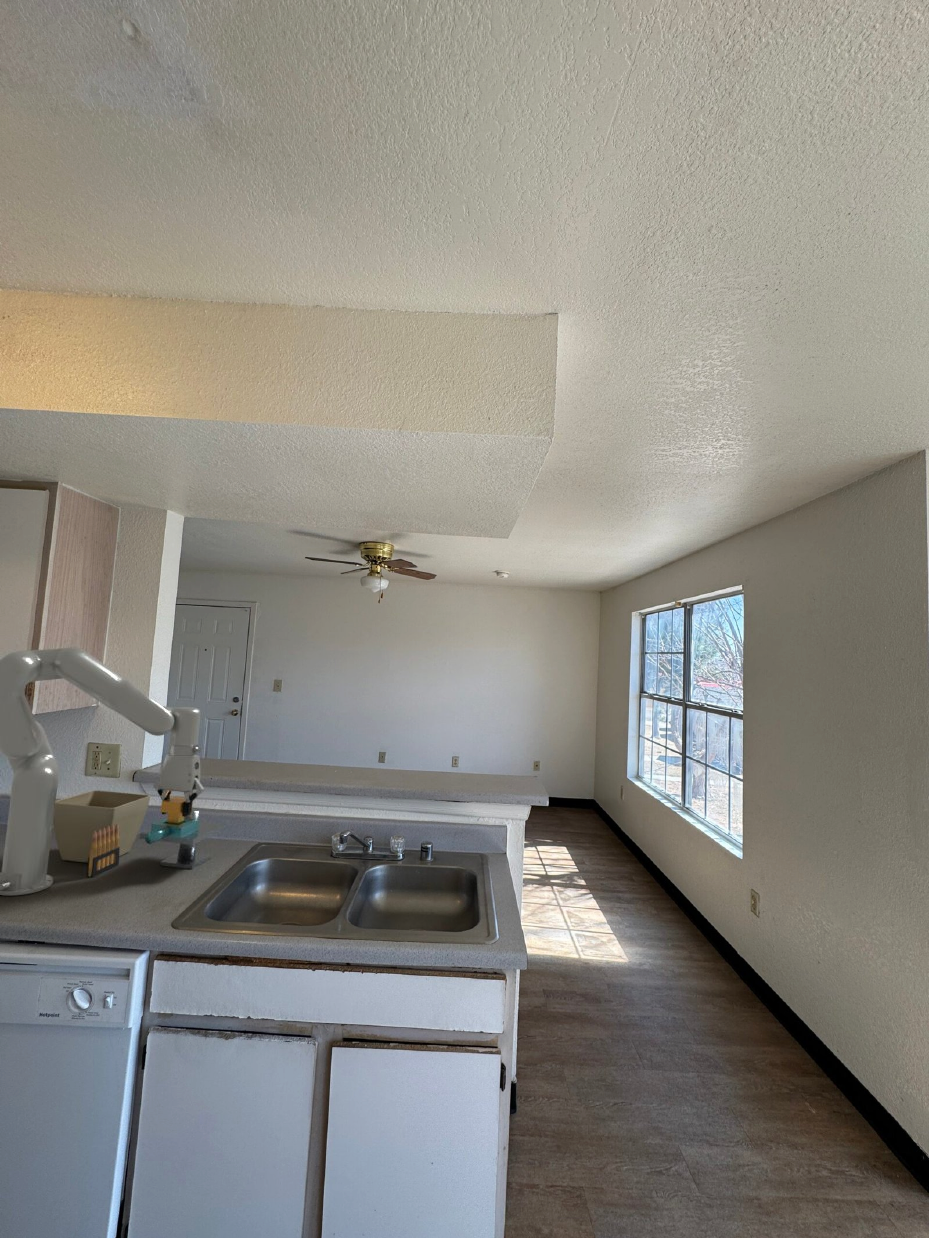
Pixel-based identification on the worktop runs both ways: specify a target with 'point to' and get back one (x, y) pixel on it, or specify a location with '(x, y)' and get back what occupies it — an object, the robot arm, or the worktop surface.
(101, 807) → the flower pot
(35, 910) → the worktop surface
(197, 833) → the teal meat grinder
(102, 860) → the ammunition clip
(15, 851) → the robot arm
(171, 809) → the tan t-shaped peg
